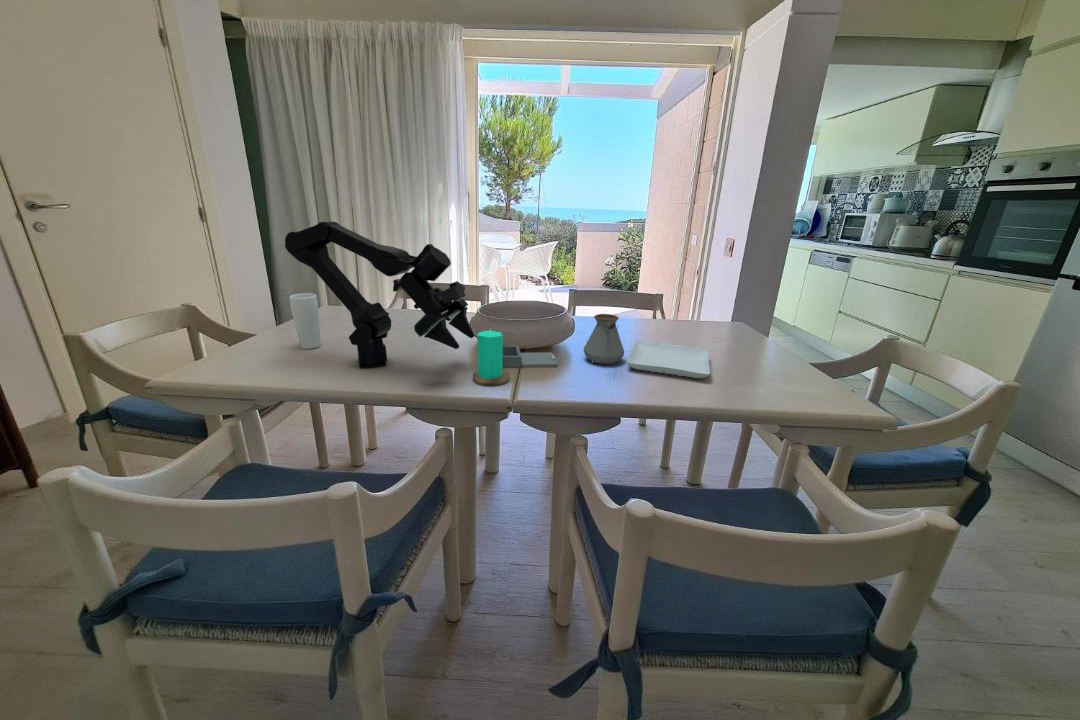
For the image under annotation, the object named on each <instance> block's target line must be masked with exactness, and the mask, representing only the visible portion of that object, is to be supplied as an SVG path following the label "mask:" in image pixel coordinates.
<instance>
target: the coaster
mask: <svg viewBox="0 0 1080 720" xmlns="http://www.w3.org/2000/svg"><path fill="white" fill-rule="evenodd" d="M472 373H473V374H472V382H474V383H475V384H476V385H479V386H483V387H499V386H503V385H506V384H507V383H509V382H510V373H509V372H508V371H507V370H506V369H503V368H502V376H501V377H499V378H496V379H484V378H481V377H479V375H478V369H477V370H475V371H474V372H472ZM505 383H506V384H505Z"/></svg>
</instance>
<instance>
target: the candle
mask: <svg viewBox="0 0 1080 720" xmlns="http://www.w3.org/2000/svg"><path fill="white" fill-rule="evenodd" d="M476 338H477V370H478V375H479V377H481V378H484V379H496V378H499V377H501V376H502V369H503V368H502V365H503V346H504V345H503V344H504V342H503V341H504V339H503V338H504V337H503V334H502V332H500V331H494V330H491V329H489V330H483V331H480V332H478V333H477V337H476Z"/></svg>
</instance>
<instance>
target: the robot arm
mask: <svg viewBox="0 0 1080 720" xmlns="http://www.w3.org/2000/svg"><path fill="white" fill-rule="evenodd" d="M330 243H333V244H335V245H337V246H339V247H342V248H343V249H345V250H347V251H349V252H351V253H354V254H356V255H357V256H359V257H361V258H364V259H365V260H367V261H369V262H370V264H371V266H373V268H374V269H376V270H378V271H379V272H380V273H381V274H383V275H385V276H386V277H395V276H397V275H398V276H399V275H402V274H403V275H402V276H401V277H400V278H396V279H393V281H392V282H393V286H392V291H393V292H395V293H397V292H400V291H402V290H403V291H404V293H406V294H407V296H408V297H409V298H410V299H411V300H412V301H413V302H414V303H415V304H414V305H413V308H414V309H415V310H418V309H420V310H421V311H422V313H423V314H424V315H423V316H422V317H421V318H420V319H419V320H418V321H417V322H416V323H415V324H414V325H413V326H414V332H415V333H416V334H417V335H418V336H419V338H421V337H422V336H424V338H425V339H427V338H428V339H430V340H432V341H436V342H438V343H441V344H443V345H445V346H447V347H450V348H452V349H455V350H458V349H460V344H459V342H458V341H457V340H456V338H455V337H454V336H453V334H451V331H450V330H449V329H448V327H447V322H448V325H450V326H452V327H453V328H455V329H456V330H457V331H459V332H460V333H462V334H463V335H464V336H466V337H468V338H470V339H473V338H474V337H475V333H474V331H473V329H472V327H471V325H470V323H469V320H468V318H467V311H468V309H469V308H468V305H469V304H468V302H467V301H466V299H464V297H466V293H465V290H466V287H465V286H464V285H463V284H462V283H460V282H459V281H458V280H456V281H454V282H451V283H450V284H449V288H447V289H444V290H441V288H440V287H435V288H434V287H433V286H432V284H431V283H430V282H429V281H431V282H435V281H437V280H438V278H440V276H441V275H443V273H444V272H445V271H446V270H447V269H448V268H449V267H450V266H451V265H452V263H451V259H450V258H449V256H448V255H447V254H446V253H445V252H443V251H442V250H441V249H439V248H437V247H435V246H434V245H433V244H432V243H429V244H428V243H427V244H425V246H424V247H423V248H422V251H421V252H420V253H419V254H418V255H417V256H415V255H411V254H410V253H409V252H408V251H406V250H404V249H401V248H399V247H395V246H391V245H385V244H384V245H383V244H381V243H376V242H375V241H373V240H372V239H370V238H367V237H365V236H363V235H361V234H359V233H356V232H355V231H353V230H351V229H349V228H346V227H345V226H342V225H340V224H339V223H338V222H336V221H332V220H331V221H320V222H318V223H317V224H314V225H313V226H311V227H307V228H304V229H301V230H299V231H296V230H295V231H290V232H288V233H287V234H286V236H285V238H284V248H285V249H286V251H287V252H288V253H289V254H290V255H291V256H292V257H293V258H294V259H295V260H297V261H298V262H300V263H302V264H304V265H306V266H308V268H309V267H310V268H311V269H312V270H313V271H314V272H315V273H316V275H318V277H319V278H320V279H321V280H322V281H323V283H324V284H325V285H326V286H327V287H328V288H329V289H330V291H331V292H332V293H333V294H334V295H335V297H336V298H337V299H338V300H339V301H340V302H341V303H342V304H343V306H345V308H346V309H347V310H348V311H349V314H350V316H351V320H352V321H351V322H352V325H353V326H354V328H355V329H354V331H352V332H351V334H350V335H349V336H348V339H349V342H350V343H351V345H352V346H356V349H357V356H358V359H357V362H358V367H359V369H366V368H376V367H384V366H387V362H388V357H387V356H388V355H387V347H386V344H385V343H384V340H383V339H386V338H387V337H388V333H389V332H390V331H391V329H392V318H391V317H390V316H389V315H390V313H389V312H388V311H386V309H384V307H383V305H382V304H381V303H380V302H379V301H378V302H375V303H370V302H369V301H368V300H366V298H365V297H364V296H363V294H361V292H360V291H359V290H358V289H357V288H356V287H355V286H354V284H353V283H352V281H350V280H349V279H348V277H347V276H346V275H345V273H343V271H342V270H341V269H340V268H339V267H338V266H337V265H336V263H335V262H334V261H333V259H331V257H330V254H329V249H328V244H330ZM411 269H412V270H411ZM410 270H411V271H410ZM409 271H410V272H409Z"/></svg>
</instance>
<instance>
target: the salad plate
mask: <svg viewBox="0 0 1080 720" xmlns="http://www.w3.org/2000/svg"><path fill="white" fill-rule="evenodd" d="M633 345H634V346H633V347H632V350H631V352H630V354H629V356H628V357H627V360H626V364H627V365H628V366H629V367H630V368H632V369H634V370H638V371H642V370H643V372H647V371H651V372H650V373H654V372H658V373H657V374H660V373H665V374H664V375H667V374H672V375H671V376H674V375H678V376H677V377H681V376H686V377H685V378H688V377H692V379H703V378H707V377H709V376H710V374H711V366H710V352H709V350H707V349H704V348H697V347H691V346H687V345H686V346H685V345H684V346H683V345H677V344H669V343H664V342H658V341H657V342H655V341H647V340H639V339H637V340H635V342H634V344H633Z"/></svg>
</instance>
